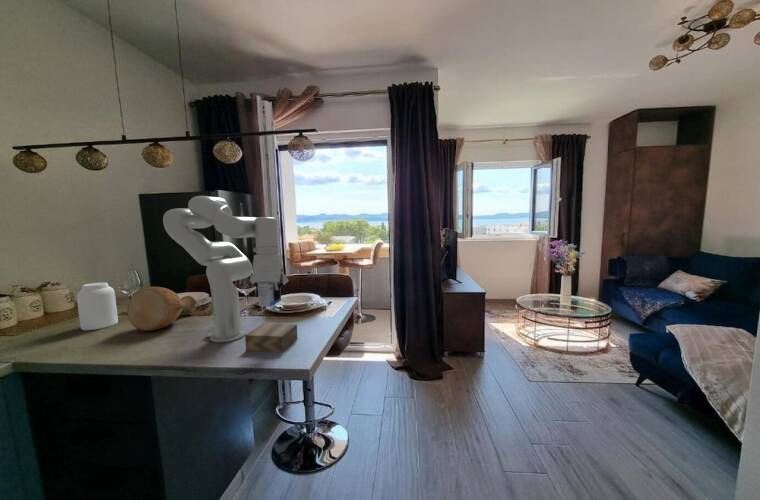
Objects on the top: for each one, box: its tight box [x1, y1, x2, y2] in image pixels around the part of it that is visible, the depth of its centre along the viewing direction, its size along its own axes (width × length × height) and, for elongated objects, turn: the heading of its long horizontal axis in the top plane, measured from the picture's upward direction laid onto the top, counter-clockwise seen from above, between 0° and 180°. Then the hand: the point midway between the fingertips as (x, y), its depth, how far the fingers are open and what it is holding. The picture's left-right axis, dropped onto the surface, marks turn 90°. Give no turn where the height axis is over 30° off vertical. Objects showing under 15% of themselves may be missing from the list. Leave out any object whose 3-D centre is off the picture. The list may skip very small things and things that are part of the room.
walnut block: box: [244, 323, 298, 353], centre depth 107 cm, size 14×12×6 cm
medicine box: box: [257, 282, 282, 308], centre depth 106 cm, size 8×4×9 cm, turn 169°
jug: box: [127, 286, 198, 332], centre depth 133 cm, size 20×19×30 cm
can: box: [76, 281, 119, 331], centre depth 132 cm, size 12×12×20 cm
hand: (270, 299), depth 106 cm, fingers closed on medicine box, 4 cm apart
